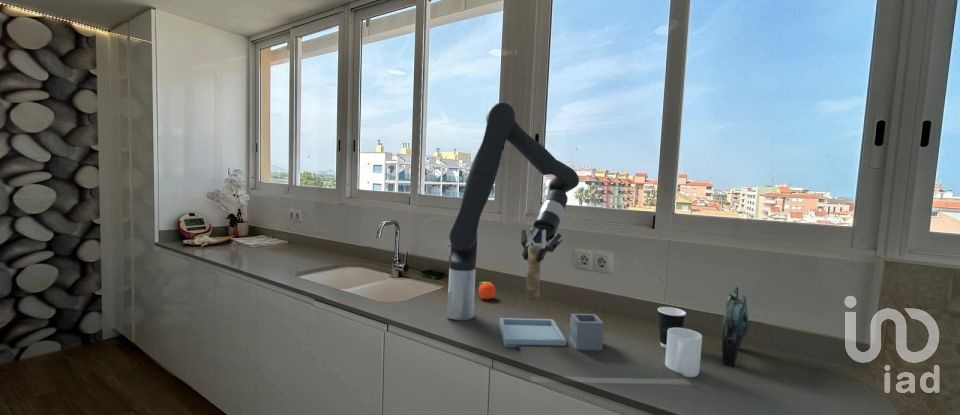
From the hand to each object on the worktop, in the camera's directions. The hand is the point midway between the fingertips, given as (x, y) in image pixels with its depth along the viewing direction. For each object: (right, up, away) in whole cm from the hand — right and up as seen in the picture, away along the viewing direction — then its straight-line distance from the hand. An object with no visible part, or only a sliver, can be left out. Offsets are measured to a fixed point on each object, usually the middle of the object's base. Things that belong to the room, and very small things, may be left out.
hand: (531, 259), depth 128 cm
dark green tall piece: (+58, -28, -5) cm, 65 cm away
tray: (0, -25, +3) cm, 25 cm away
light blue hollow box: (+15, -26, -4) cm, 30 cm away
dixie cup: (+42, -27, 0) cm, 50 cm away
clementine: (-14, -21, +42) cm, 49 cm away
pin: (+1, -12, +3) cm, 13 cm away
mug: (+37, -28, -18) cm, 50 cm away
